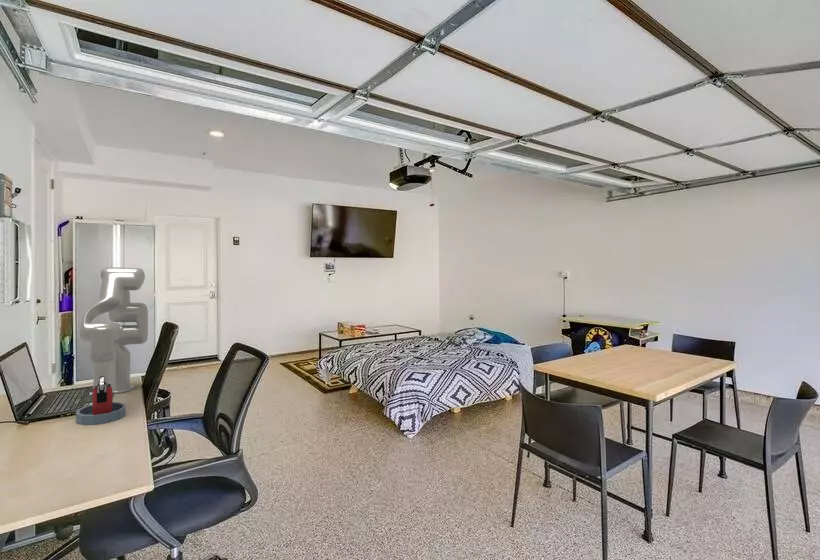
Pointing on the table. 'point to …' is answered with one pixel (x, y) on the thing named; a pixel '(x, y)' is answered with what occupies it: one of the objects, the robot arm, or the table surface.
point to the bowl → (100, 415)
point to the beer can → (104, 406)
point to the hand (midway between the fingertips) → (102, 398)
